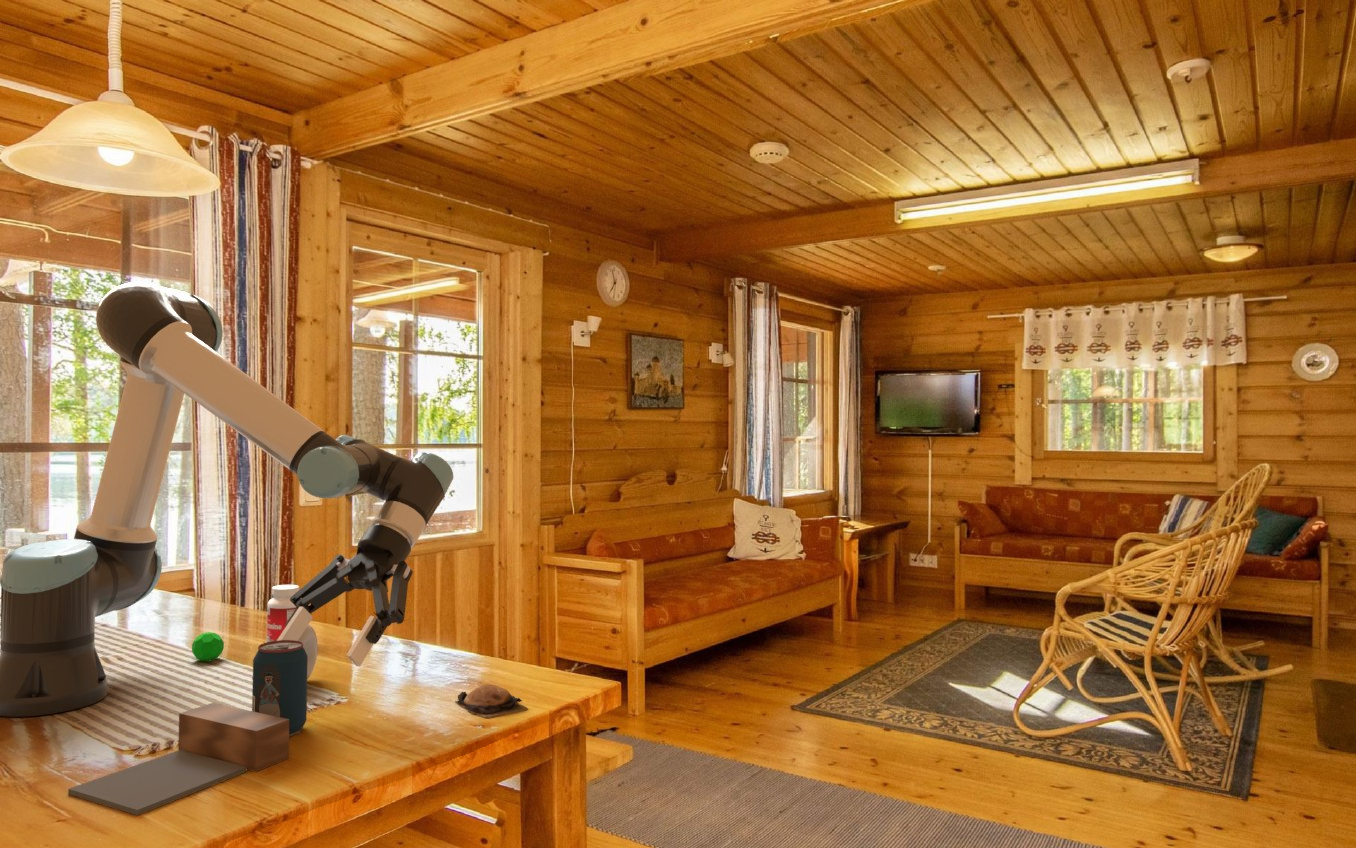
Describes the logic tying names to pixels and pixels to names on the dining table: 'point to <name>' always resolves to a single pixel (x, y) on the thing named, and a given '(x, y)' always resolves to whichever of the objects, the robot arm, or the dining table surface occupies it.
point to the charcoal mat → (157, 781)
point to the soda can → (281, 682)
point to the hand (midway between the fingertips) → (316, 655)
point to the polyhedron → (207, 646)
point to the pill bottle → (279, 610)
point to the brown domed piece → (490, 702)
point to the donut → (310, 647)
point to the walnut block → (234, 735)
